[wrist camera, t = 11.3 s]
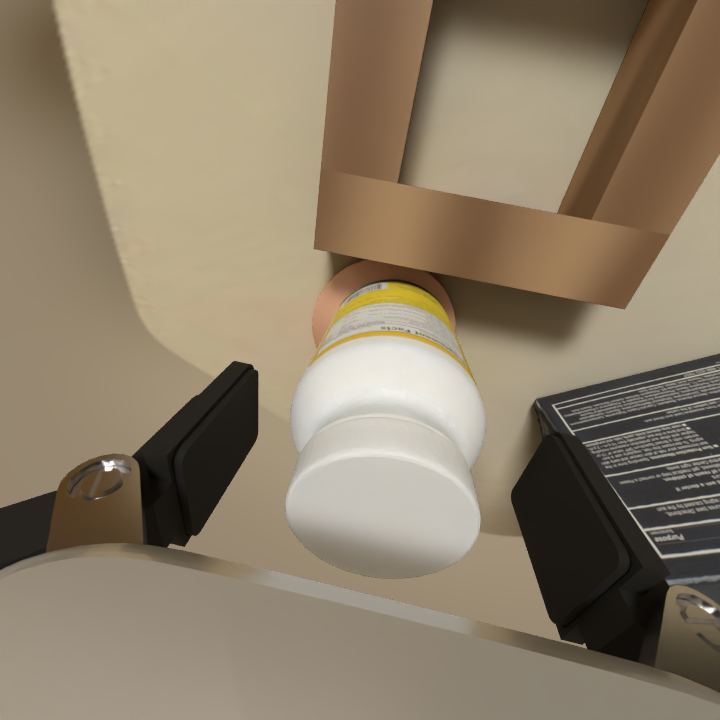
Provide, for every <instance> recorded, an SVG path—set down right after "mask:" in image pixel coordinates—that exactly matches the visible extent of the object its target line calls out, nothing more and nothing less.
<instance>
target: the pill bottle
mask: <svg viewBox="0 0 720 720" xmlns="http://www.w3.org/2000/svg"><path fill="white" fill-rule="evenodd" d="M290 428H291V434H292V439H293V442H294V445H295V447H296V450H297V452H298V454H299V457H298V460H297V463H296V466H295V469H294V473H293V475H292V479H291V482H290V485H289V488H288V491H287V495H286V500H285V512H286V517H287V521H288V524H289V526H290V528H291V530H292V531H293V533H294V535H295V536H296V537H297V538H298V540H299V541H300V542H301V543H302V544H303V545H304V546H305V547H306V548H307V549H308V550H309V551H311V552H312V553H313V554H314V555H316V556H317V557H318V558H320V559H321V560H323V561H325V562H327V563H329V564H331V565H333V566H335V567H338V568H341V569H342V570H345V571H348V572H352V573H356V574H360V575H363V576H368V577H375V578H386V579H398V578H412V577H419V576H423V575H427V574H431V573H435V572H438V571H440V570H442V569H445V568H447V567H449V566H451V565H452V564H454V563H456V562H457V561H458V560H460V559H461V558H462V557H463V556H465V555H466V554H467V553H468V552H469V550H470V549H471V548H472V546H473V545H474V543H475V541H476V539H477V537H478V534H479V530H480V523H481V516H480V510H479V505H478V500H477V496H476V492H475V488H474V484H473V480H472V476H471V473H470V470H471V468H472V467H473V465H474V464H475V462H476V460H477V459H478V457H479V454H480V452H481V450H482V446H483V443H484V438H485V432H486V417H485V411H484V406H483V402H482V399H481V396H480V394H479V391H478V388H477V386H476V383H475V381H474V378H473V376H472V373H471V371H470V368H469V366H468V364H467V361H466V359H465V356H464V354H463V351H462V349H461V346H460V344H459V341H458V339H457V337H456V334H455V332H454V330H453V327H452V325H451V322H450V319H449V317H448V315H447V313H446V311H445V309H444V307H443V306H442V304H441V303H440V302H439V301H438V299H437V298H436V297H435V296H434V295H433V294H431V293H430V292H429V291H428V290H426V289H425V288H423V287H421V286H419V285H417V284H415V283H412V282H409V281H406V280H400V279H382V280H377V281H373V282H370V283H368V284H365V285H363V286H361V287H359V288H358V289H356V290H355V291H353V292H352V293H351V294H350V295H348V296H347V297H346V298H345V300H344V301H343V302H342V303H341V305H340V306H339V308H338V310H337V311H336V313H335V315H334V317H333V319H332V322H331V324H330V326H329V328H328V330H327V331H326V333H325V335H324V337H323V339H322V341H321V343H320V345H319V346H318V348H317V350H316V352H315V354H314V356H313V358H312V360H311V362H310V364H309V365H308V367H307V369H306V371H305V373H304V375H303V376H302V378H301V380H300V382H299V384H298V386H297V388H296V391H295V394H294V397H293V400H292V404H291V409H290Z"/></svg>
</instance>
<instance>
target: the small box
mask: <svg viewBox="0 0 720 720" xmlns="http://www.w3.org/2000/svg"><path fill="white" fill-rule="evenodd" d="M534 407H535V411H536V413H537V415H538V421H539V423H540V428H541V432H542V437H543V439H544V438H545V436H546V435H551V434H552V433H553V432H556V431H558V432H562V433H567V434H571V435H575V436H577V437H578V438H579V439H580V440H581V442H582V443H583V445H584V446H585V448H586V449H587V451H588V452H589V454H590V455H591V457H592V458H593V460H594V461H595V462H596V464H597V465H598V467H599V468H600V470H601V471H602V473H603V474H604V476H605V477H606V479H607V480H608V482H609V483H610V485H611V486H612V488H613V489H614V491H615V492H616V494H617V495H618V496H619V498H620V499H621V501H622V502H623V504H624V505H625V507H626V508H627V510H628V511H629V513H630V514H631V516H632V517H633V519H634V520H635V522H636V523H637V525H638V526H639V528H640V529H641V531H642V532H643V533H644V535H645V536H646V538H647V539H648V541H649V542H650V544H651V545H652V547H653V548H654V550H655V551H656V553H657V554H658V556H659V557H660V559H661V560H662V562H663V563H664V565H665V566H666V567H667V569H668V570H669V572H670V573H671V574H670V575H668V576H667V577H666V578H665V580H666V582H667V583H668V585H669V586H670V587H672V586H675V585H681V586H687V587H689V588H691V589H694V590H696V591H698V592H700V593H702V594H703V595H705V596H707V597H708V598H710V599H711V600H713V601H714V602H715V603H717V604H718V605H719V606H720V354H717V355H713V356H709V357H705V358H701V359H697V360H693V361H689V362H684V363H681V364H677V365H672V366H668V367H665V368H660V369H656V370H653V371H648V372H644V373H640V374H636V375H632V376H628V377H624V378H620V379H616V380H612V381H608V382H603V383H600V384H595V385H592V386H587V387H583V388H579V389H575V390H571V391H567V392H564V393H559V394H555V395H551V396H547V397H543V398H539V399H537V400H536V402H535V405H534ZM542 441H543V440H542Z"/></svg>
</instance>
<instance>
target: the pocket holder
mask: <svg viewBox="0 0 720 720" xmlns="http://www.w3.org/2000/svg"><path fill="white" fill-rule="evenodd" d="M433 2H434V0H336V5H335V17H334V28H333V39H332V50H331V61H330V73H329V84H328V95H327V106H326V117H325V129H324V140H323V151H322V162H321V173H320V185H319V196H318V207H317V218H316V229H315V241H314V249H317V250H322V251H327V252H332V253H337V254H342V255H348V256H353V257H358V258H363V259H368V260H373V261H378V262H384V263H389V264H394V265H399V266H404V267H409V268H414V269H420V270H425V271H430V272H435V273H440V274H445V275H450V276H456V277H461V278H466V279H471V280H476V281H481V282H486V283H492V284H497V285H502V286H507V287H512V288H517V289H522V290H528V291H533V292H538V293H543V294H548V295H553V296H558V297H564V298H569V299H574V300H579V301H584V302H589V303H594V304H600V305H605V306H610V307H615V308H620V309H625V308H626V307H627V305H628V303H629V302H630V300H631V298H632V297H633V295H634V293H635V292H636V290H637V289H638V287H639V285H640V284H641V282H642V280H643V279H644V277H645V275H646V274H647V272H648V270H649V269H650V267H651V266H652V264H653V262H654V261H655V259H656V257H657V256H658V254H659V252H660V251H661V249H662V248H663V246H664V244H665V243H666V241H667V239H668V238H669V236H670V234H671V233H672V231H673V229H674V228H675V226H676V225H677V223H678V221H679V220H680V218H681V216H682V215H683V213H684V211H685V210H686V208H687V207H688V205H689V203H690V202H691V200H692V198H693V197H694V195H695V193H696V192H697V190H698V188H699V187H700V185H701V184H702V182H703V180H704V179H705V177H706V175H707V174H708V172H709V170H710V169H711V167H712V165H713V164H714V162H715V161H716V159H717V157H718V156H719V154H720V0H649V2H648V4H647V6H646V9H645V11H644V13H643V16H642V18H641V20H640V23H639V25H638V27H637V30H636V32H635V34H634V37H633V39H632V41H631V44H630V46H629V48H628V51H627V53H626V55H625V58H624V60H623V62H622V64H621V67H620V69H619V71H618V74H617V76H616V78H615V81H614V83H613V85H612V88H611V90H610V92H609V95H608V97H607V99H606V102H605V104H604V106H603V109H602V111H601V113H600V116H599V118H598V120H597V123H596V125H595V127H594V129H593V132H592V134H591V136H590V139H589V141H588V143H587V146H586V148H585V150H584V153H583V155H582V157H581V160H580V162H579V164H578V167H577V169H576V171H575V174H574V176H573V178H572V181H571V183H570V185H569V188H568V190H567V192H566V194H565V197H564V199H563V201H562V204H561V206H560V208H559V211H558V213H551V212H546V211H541V210H535V209H530V208H525V207H520V206H514V205H509V204H504V203H499V202H493V201H488V200H483V199H477V198H472V197H467V196H462V195H456V194H451V193H446V192H441V191H435V190H430V189H425V188H419V187H414V186H409V185H404V184H398V181H399V176H400V170H401V165H402V160H403V155H404V150H405V145H406V140H407V135H408V130H409V125H410V119H411V114H412V109H413V104H414V99H415V94H416V89H417V84H418V79H419V74H420V68H421V63H422V58H423V53H424V48H425V43H426V38H427V33H428V28H429V23H430V17H431V12H432V7H433Z"/></svg>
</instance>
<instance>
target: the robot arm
mask: <svg viewBox="0 0 720 720" xmlns="http://www.w3.org/2000/svg"><path fill="white" fill-rule="evenodd" d="M257 436H258V371H257V370H254V368H253V365H251V364H246V363H242V362H237V361H234V362H232V363H231V364H230V365H229V366H228V367H227V368H226V369H225V370H224V371H223V372H222V373H221V374H220V375H219V376H218V377H217V378H216V379H215V380H214V381H213V382H212V383H211V384H210V385H209V386H208V387H207V388H206V389H205V390H203V392H202V393H201V394H199V395H196V396H195V397H193V398H192V399H191V400H190V401H189V402H188V403H187V404H186V405H185V406H184V407H183V408H182V409H181V410H180V411H178V412H177V413H176V414H175V415H174V416H173V417H172V418H171V419H170V420H169V421H168V422H167V423H166V424H165V425H164V426H163V427H162V428H161V429H160V430H159V431H158V432H157V433H156V434H155V435H154V436H152V438H150V440H148V441H147V442H146V443H145V444H144V445H143V446H142V447H141V448H140V449H139V450H138V451H137V452H136V453H135V454H134V455H133V456H132V457H131V456H128V455H124V454H109V455H102V456H99V457H96V458H93V459H90V460H88V461H86V462H84V463H82V464H80V465H78V466H77V467H75V468H74V469H73V470H71V471H70V472H69V473H68V474H67V475H66V476H65V477H64V478H63V480H62V481H61V482H60V485H59V487H58V489H57V491H54V492H50V493H47V494H44V495H41V496H38V497H35V498H31V499H28V500H25V501H22V502H19V503H16V504H13V505H9V506H7V507H3V508H0V720H720V606H719V605H718V604H717V603H715V602H714V601H713V600H711V599H710V598H708V597H707V596H705V595H703V594H702V593H700V592H698V591H696V590H694V589H691V588H689V587H687V586H681V585H675V586H672V587H670V586H669V585H668V583H667V582H666V580H665V578H666V577H667V576H668V575H670V574H671V573H670V572H669V570H668V569H667V567H666V566H665V565H664V563H663V562H662V560H661V559H660V557H659V556H658V554H657V553H656V551H655V550H654V548H653V547H652V545H651V544H650V542H649V541H648V539H647V538H646V536H645V535H644V533H643V532H642V531H641V529H640V528H639V526H638V525H637V523H636V522H635V520H634V519H633V517H632V516H631V514H630V513H629V511H628V510H627V508H626V507H625V505H624V504H623V502H622V501H621V499H620V498H619V496H618V495H617V494H616V492H615V491H614V489H613V488H612V486H611V485H610V483H609V482H608V480H607V479H606V477H605V476H604V474H603V473H602V471H601V470H600V468H599V467H598V465H597V464H596V462H595V461H594V460H593V458H592V457H591V455H590V454H589V452H588V451H587V449H586V448H585V446H584V445H583V443H582V442H581V440H580V439H579V438H578V437H577V436H575V435H571V434H567V433H562V432H558V431H556V432H553V433H552V434H551V435H546V436H545V438H544V439H543V441H542V443H541V444H540V446H539V447H538V449H537V451H536V452H535V454H534V456H533V457H532V459H531V460H530V462H529V464H528V465H527V467H526V469H525V470H524V472H523V473H522V475H521V477H520V478H519V480H518V482H517V483H516V485H515V486H514V488H513V490H512V493H511V501H512V504H513V507H514V510H515V514H516V517H517V520H518V523H519V526H520V529H521V532H522V535H523V538H524V541H525V544H526V547H527V551H528V554H529V557H530V559H531V563H532V566H533V569H534V572H535V575H536V578H537V581H538V584H539V588H540V591H541V594H542V597H543V600H544V603H545V606H546V609H547V612H548V615H549V618H550V619H551V621H552V622H553V623H555V624H556V626H557V629H558V632H559V635H560V638H561V640H565V641H569V642H573V643H578V644H582V645H583V644H584V643H585V644H586V646H587V649H585V648H582V647H578V646H574V645H570V644H566V643H563V642H559V641H555V640H550V639H547V638H543V637H538V636H534V635H531V634H527V633H523V632H519V631H515V630H511V629H507V628H503V627H499V626H495V625H491V624H487V623H483V622H479V621H475V620H471V619H467V618H463V617H459V616H455V615H451V614H447V613H443V612H439V611H435V610H431V609H426V608H423V607H419V606H415V605H410V604H407V603H402V602H399V601H394V600H390V599H386V598H382V597H378V596H374V595H370V594H366V593H361V592H358V591H354V590H350V589H346V588H341V587H337V586H333V585H329V584H325V583H321V582H317V581H312V580H308V579H304V578H300V577H296V576H292V575H287V574H283V573H279V572H275V571H271V570H266V569H262V568H258V567H254V566H250V565H246V564H241V563H237V562H232V561H227V560H223V559H219V558H214V557H209V556H205V555H200V554H196V553H191V552H186V551H182V550H176V549H170V548H167V547H168V546H169V544H170V543H172V544H175V545H179V546H184V547H185V545H186V544H187V542H188V541H189V539H190V537H191V536H192V535H194V536H196V535H198V534H199V533H200V531H201V530H202V528H203V527H204V525H205V523H206V521H207V520H208V518H209V517H210V515H211V514H212V512H213V510H214V509H215V507H216V505H217V504H218V502H219V500H220V499H221V497H222V496H223V494H224V492H225V491H226V489H227V487H228V486H229V484H230V482H231V481H232V479H233V478H234V476H235V474H236V473H237V471H238V469H239V468H240V466H241V464H242V463H243V461H244V460H245V458H246V456H247V455H248V453H249V451H250V450H251V448H252V447H253V445H254V443H255V441H256V439H257Z"/></svg>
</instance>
